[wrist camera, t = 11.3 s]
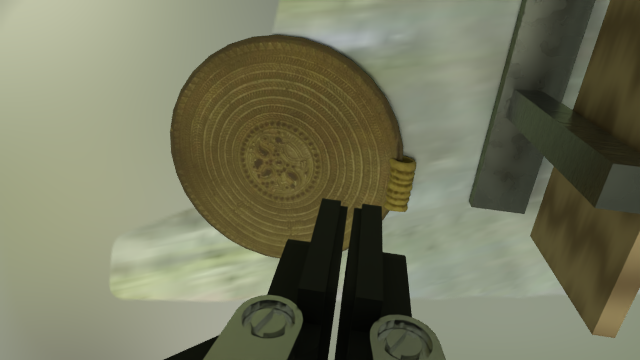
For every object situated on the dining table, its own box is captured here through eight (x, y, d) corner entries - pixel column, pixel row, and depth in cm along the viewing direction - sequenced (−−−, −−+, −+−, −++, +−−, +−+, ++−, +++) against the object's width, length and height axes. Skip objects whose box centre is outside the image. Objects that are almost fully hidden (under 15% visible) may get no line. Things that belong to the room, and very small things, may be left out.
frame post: (530, -31, 40) (677, -49, 21) (596, -26, 40) (811, -37, 20) (469, 200, 51) (526, 337, 31) (520, 207, 51) (612, 351, 31)
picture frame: (613, -20, 34) (752, -28, 21) (641, -18, 34) (799, -24, 21) (527, 235, 44) (587, 333, 31) (549, 238, 44) (619, 338, 31)
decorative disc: (147, 31, 46) (432, 42, 41) (163, 28, 49) (430, 38, 44) (179, 253, 58) (403, 281, 53) (190, 240, 61) (403, 265, 56)
